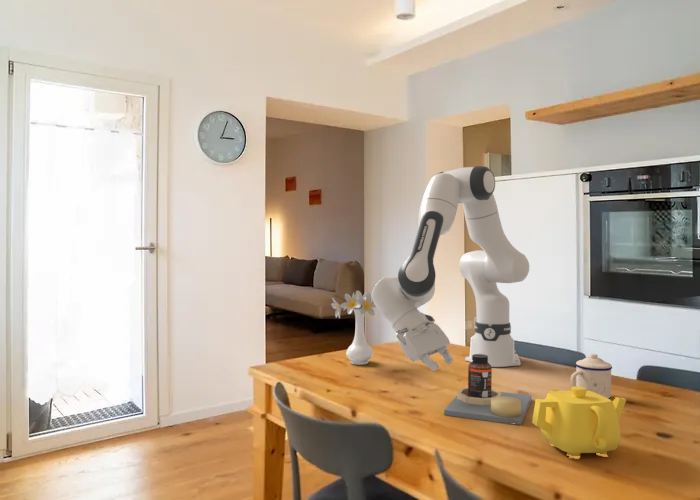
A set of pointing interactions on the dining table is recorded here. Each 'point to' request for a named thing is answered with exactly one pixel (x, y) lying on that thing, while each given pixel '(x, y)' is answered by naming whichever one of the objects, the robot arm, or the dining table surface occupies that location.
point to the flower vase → (357, 325)
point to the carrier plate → (490, 407)
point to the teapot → (579, 420)
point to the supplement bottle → (479, 377)
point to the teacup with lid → (593, 375)
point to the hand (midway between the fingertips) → (443, 366)
